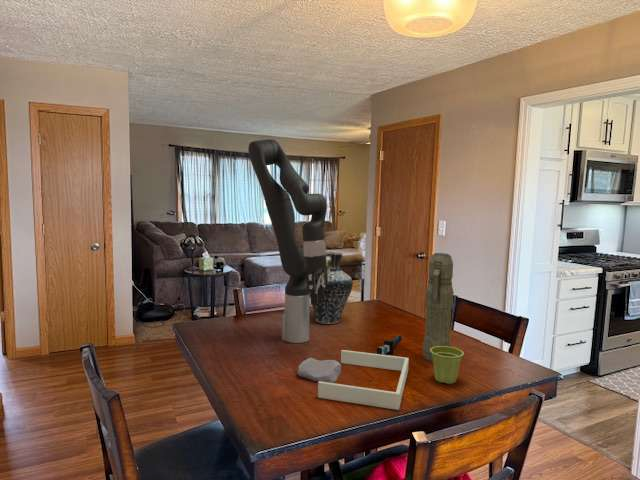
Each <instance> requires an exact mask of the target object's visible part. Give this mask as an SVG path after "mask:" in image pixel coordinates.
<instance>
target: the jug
mask: <svg viewBox="0 0 640 480" xmlns="http://www.w3.org/2000/svg"><path fill="white" fill-rule="evenodd" d="M342 257H343V252H341V251H331V250H329V251H328V250H326V261H327V267H326V268H324V269H325V279H326V285H325V288H324V295H325V298H324V299H323V300H319V299H318V304H317V305H311V306H312V311H313V313H314V314H313V318H314V321H315V322H317V323H319V324H324V325H333V324H337V323H339V322H340V321H341V318H342V313H343V310H344V308H345V305H346V303H347V301H348V299H349V297H350V295H351V293H352V289H353V285H354V283H353V279H352V277H351V276H350V275H349V274H348V273H346V272H345V271H343V270H342V268H341V262H342ZM312 289H313V288H312ZM318 289H319V288H318ZM317 296H318V291H317Z"/></svg>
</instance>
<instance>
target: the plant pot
mask: <svg viewBox="0 0 640 480" xmlns="http://www.w3.org/2000/svg"><path fill="white" fill-rule="evenodd" d="M430 352H431V353H432V357H433V362H432V365H433V372H434V373H433V374H434V380H435V381H437V382H438V383H441V384H443V383H445V384H447V385H450V384H455V383H456V382H457V380H458V374H459V370H460V365H461V361H462V358H463V356H465V355H464V354H465V353H464V351H463V350H461V349H459V348H457V347H453V346H451V347H448V346H436V347H432V348H431V349H430Z"/></svg>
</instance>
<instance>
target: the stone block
mask: <svg viewBox="0 0 640 480" xmlns="http://www.w3.org/2000/svg"><path fill="white" fill-rule="evenodd" d="M341 364H342V363H341V362H339V361H337V360H335V359H324V360H319V359H315V358H314V357H308V358H306V359H305V360H303V361H302V362H301V363H300V364H299V365H298V367H297V375H298V376H299V377H302V378H304V379H308V380H310V381H314V382H317V383H318V382H319V381H321V382H328V383H335V382H336V381H337V380H338V377H340V375H341V373H342V372H341V371H342V365H341Z"/></svg>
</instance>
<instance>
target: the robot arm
mask: <svg viewBox="0 0 640 480" xmlns="http://www.w3.org/2000/svg"><path fill="white" fill-rule="evenodd" d="M279 143H280V142H278V141H277V140H276V139H272V138H271V139H270V138H269V139H260V140H253V141H250V143H249V144H248V157H249V160H250V163H251V166H252V168H253V171H254V173H255V176H256V178H257V181H258V183H259V187H260V190H261V193H262V196H263V200H264V203H265V206H266V211H267V212H268V213H267V215H268V216H269V219H270V222H271V226H272V229H273V233H274V236H275V239H276V243H277V247H278V252H279V258H280V262H281V263H280V264H281V266H282V269H283V271H284V273H286V274H287V275H288V276H289V279H288V282H287V283H286V285H285V286H284V313H283V314H282V319H281V320H282V322H281V323H282V324H281V325H282V326H281V327H282V329H281V340H282V341H285V342H287V343H293V344H302V343H305V342H308V341H309V340H310V319H311V318H310V313H311V312H310V311H311V309H310V308H311V306H312V305H317V304H318V299H319V300H323V299H324V298H325V295H324V288H325V285H326V279H325V269H324V268H326V267H327V261H326V251H327V250H326V248H327V247H326V242H325V232H324V226H325V222H326V215H327V210H328V203H327V200H326V197H325V196H324V195H323V194H322V193H309V192H310V189H309V188H310V187H309V185H308V183H307V182H306V181H305V179H303V178H302V176H300V173H298V172H297V170H295V168H294V166H293V164H292V163H291V161H290V160H289V157H288V155H286V153H285V151H284V150H283V147H282V146H281V145H280V144H279ZM271 165H276V166H277V167H278V168H279V182H280V184H279V183H278V182H277V181H276V180H275V179H274V178H273V176H272V175H271V173H270V171H269V168H268V166H271ZM294 209H295V210H296V212H297V213H298V214H299V215H301V216H311V217H310V221H309V222H306V223H304V224H303V225H302V227H301V228H302V229H301V230H302V242H303V243H302V244H303V245H302V249H300V248H299V245H298V242H297V238H296V235H295V234H296V233H295V227H296V225H295V224H296V222H295V221H296V220H295V219H296V218H295V217H296V216H295V215H296V214H295V210H294ZM312 288H313V289H312ZM318 288H319V289H318ZM317 291H318V296H317Z"/></svg>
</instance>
